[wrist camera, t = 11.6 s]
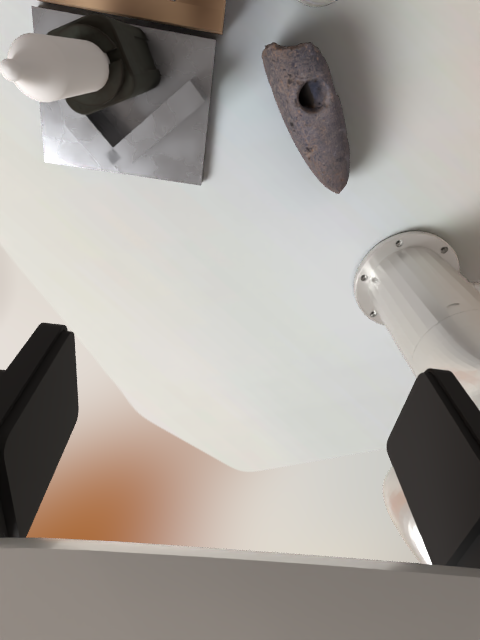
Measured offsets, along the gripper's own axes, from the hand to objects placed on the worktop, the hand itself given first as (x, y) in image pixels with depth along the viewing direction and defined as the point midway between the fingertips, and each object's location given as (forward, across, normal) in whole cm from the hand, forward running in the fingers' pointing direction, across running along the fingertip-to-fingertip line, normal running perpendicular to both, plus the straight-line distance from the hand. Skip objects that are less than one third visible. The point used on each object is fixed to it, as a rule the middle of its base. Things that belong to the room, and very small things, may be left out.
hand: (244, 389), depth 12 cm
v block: (+38, +11, -3) cm, 40 cm away
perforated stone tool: (+38, -7, -4) cm, 39 cm away
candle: (+37, +11, -6) cm, 39 cm away
